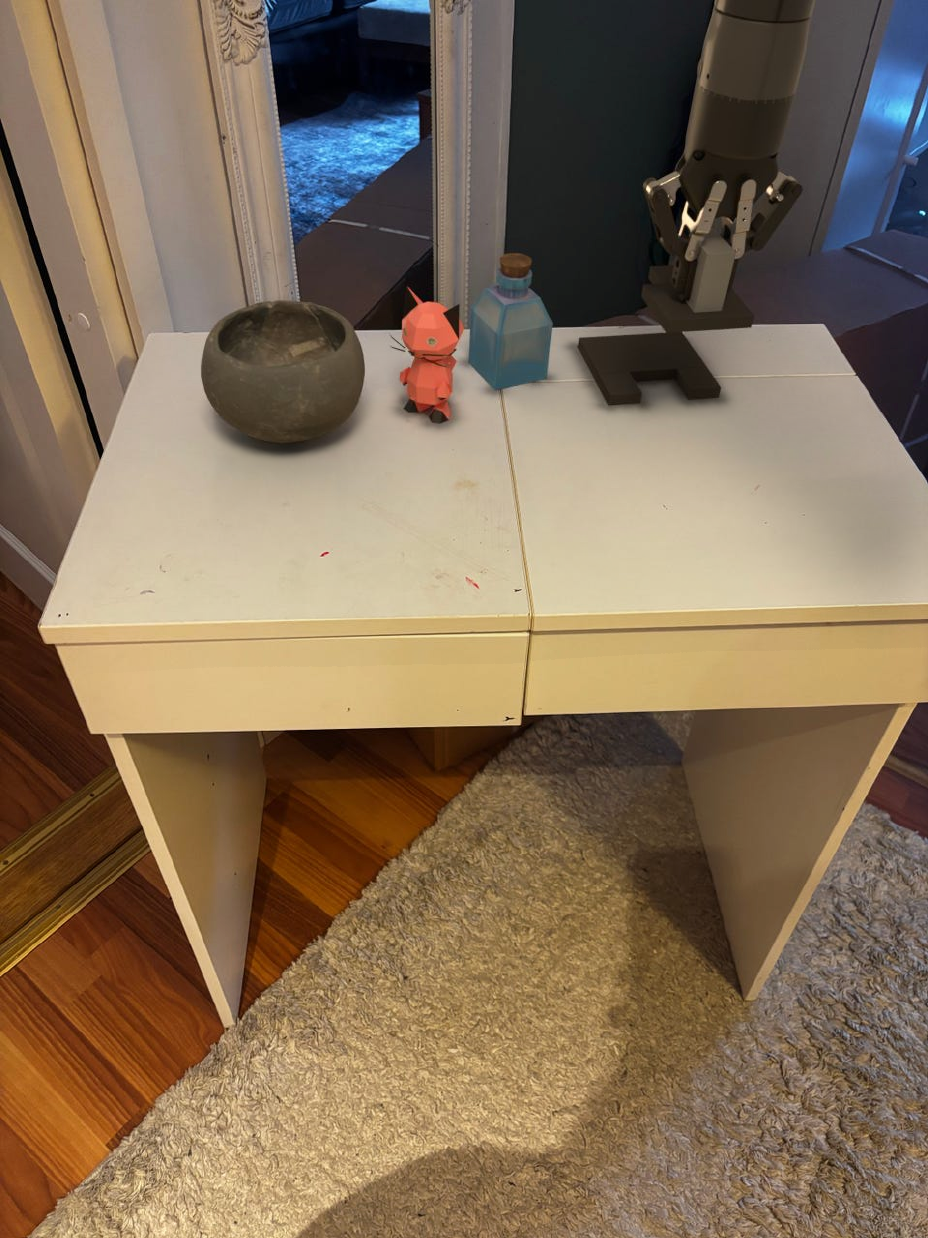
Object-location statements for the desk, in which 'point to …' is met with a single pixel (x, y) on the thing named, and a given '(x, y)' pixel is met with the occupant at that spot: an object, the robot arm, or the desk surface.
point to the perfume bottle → (510, 328)
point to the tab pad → (683, 314)
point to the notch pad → (646, 365)
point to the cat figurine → (429, 354)
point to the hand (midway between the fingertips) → (699, 294)
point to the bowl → (283, 370)
